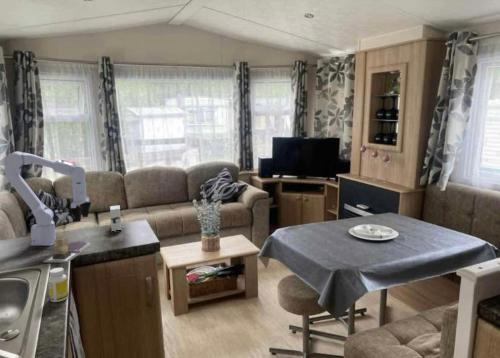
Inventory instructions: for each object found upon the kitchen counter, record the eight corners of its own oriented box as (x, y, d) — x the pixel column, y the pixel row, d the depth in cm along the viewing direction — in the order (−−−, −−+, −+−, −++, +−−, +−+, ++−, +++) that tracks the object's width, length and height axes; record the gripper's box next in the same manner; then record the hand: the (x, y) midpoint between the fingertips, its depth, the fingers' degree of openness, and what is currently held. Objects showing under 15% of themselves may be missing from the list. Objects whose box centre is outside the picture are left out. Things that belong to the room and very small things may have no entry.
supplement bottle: (71, 294, 123) (68, 266, 121) (63, 302, 117) (61, 273, 116) (54, 294, 123) (52, 266, 121) (46, 302, 117) (43, 273, 116)
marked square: (43, 262, 149) (43, 261, 149) (56, 253, 159) (56, 252, 159) (67, 262, 149) (67, 261, 149) (79, 253, 159) (79, 252, 159)
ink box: (111, 227, 196) (109, 205, 194) (121, 226, 198) (119, 205, 196) (111, 232, 188) (109, 209, 186) (121, 231, 190) (120, 208, 188)
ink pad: (57, 252, 160) (56, 249, 160) (68, 244, 170) (68, 241, 169) (80, 252, 160) (79, 249, 159) (90, 244, 169) (90, 241, 169)
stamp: (53, 259, 152) (51, 240, 150) (59, 254, 157) (57, 236, 155) (65, 259, 152) (63, 240, 150) (71, 254, 157) (69, 236, 155)
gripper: (80, 194, 166) (83, 223, 169) (94, 188, 181) (96, 215, 183) (65, 194, 166) (67, 223, 169) (80, 188, 181) (82, 214, 183)
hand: (81, 219), depth 176 cm, fingers open, 7 cm apart
